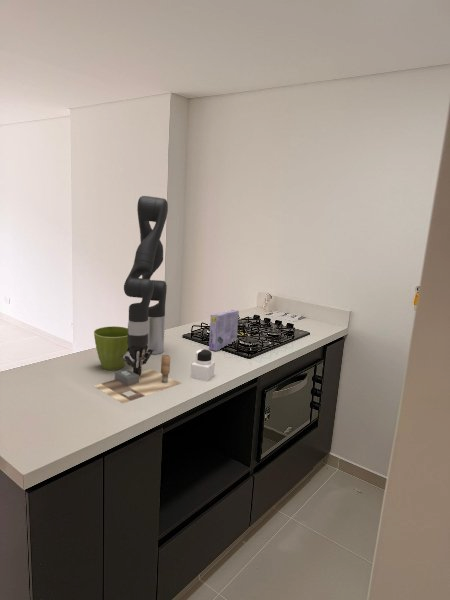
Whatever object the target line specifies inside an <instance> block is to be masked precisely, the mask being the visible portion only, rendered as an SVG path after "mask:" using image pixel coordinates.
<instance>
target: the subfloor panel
mask: <svg viewBox="0 0 450 600" xmlns="http://www.w3.org/2000/svg"><path fill="white" fill-rule="evenodd" d="M181 384H182V383H181V382H180V381H179V380H176V379H174V378H172V377H170V376H168V382H167V383H163V382H162V374H161V372H158V371H157V370H154V369H153V368H151V369H147V370H143V371H141V375H140V376H139V383H137V384H133V385H130V386H126V385H124V384H123V383H121V382H119V381H117V380H115V379H111V380H109V381H104V382H102V383H99V384H95V385H93V387H94V388H96V389H97V390H99V391H101V392H103V393H105V394H106V395H108V396H110V397H111V398H113V399H115V400H116V401H118V402H120V403H121V404H126V403H128V402H131V401H135V400H137V399H140V398H143V397H146V396H149V395H151V394H155V393H158V392H160V391H163V390H167V389H169V388H172V387H175V386H178V385H181ZM127 392H132V393H134V394H131V395H129V396H127V395H126V394H124V393H127Z"/></svg>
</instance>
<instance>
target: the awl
mask: <svg viewBox="0 0 450 600" xmlns="http://www.w3.org/2000/svg"><path fill="white" fill-rule="evenodd" d="M160 359H161V360H160V361H161V365H160V373H161V374H162V382H163V383H167V382H168V377H169V374H170V372H171V371H170V370H171V355H169V354H163V355H161V358H160Z"/></svg>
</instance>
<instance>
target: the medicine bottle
mask: <svg viewBox="0 0 450 600" xmlns="http://www.w3.org/2000/svg"><path fill="white" fill-rule="evenodd" d="M212 355H213V354H212V350H211V351H210V349H209V350H208V349H206V348H205V349H204V348H203V349H202V348H201V349H198V350H196V352H195V361H193V362H192V364H191V369H190V370H191V371H190V378H191V379H196V380H201V381H205V382H208V381H210V380H211V378H213V376H214V375H215V364H216V363H215V361H213V360H212V357H213V356H212Z"/></svg>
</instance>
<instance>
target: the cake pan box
mask: <svg viewBox="0 0 450 600" xmlns="http://www.w3.org/2000/svg"><path fill="white" fill-rule="evenodd" d="M239 313H240V311H239V310H235V309H229V310H225V311H221V312H216V313H212V314H210V323H209V325H210V326H209V341H208V342H209V343H208V349H209V350H211V351H215V352H218V351H220V349H221V348H222V347H224V346H226V345H228V344H231V343H232V342H234V341H236V340H238V326H239ZM221 350H222V349H221Z"/></svg>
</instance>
